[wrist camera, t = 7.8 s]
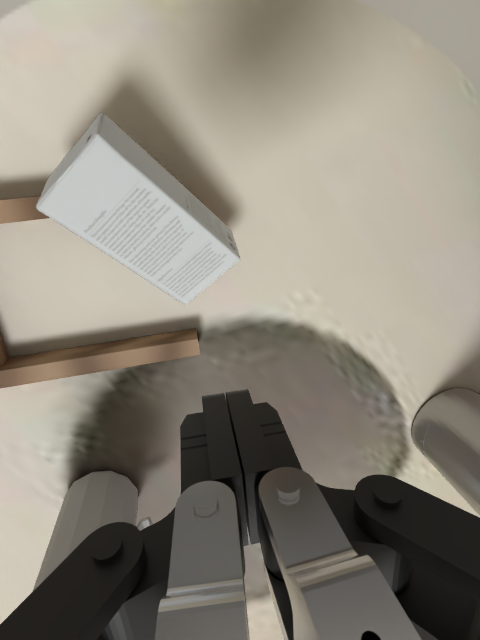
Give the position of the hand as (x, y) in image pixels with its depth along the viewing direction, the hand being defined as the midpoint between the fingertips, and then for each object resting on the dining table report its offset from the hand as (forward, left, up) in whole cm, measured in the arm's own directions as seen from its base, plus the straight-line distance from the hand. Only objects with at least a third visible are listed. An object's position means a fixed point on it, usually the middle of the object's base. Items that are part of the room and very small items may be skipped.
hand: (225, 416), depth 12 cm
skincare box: (-1, 0, -19) cm, 19 cm away
